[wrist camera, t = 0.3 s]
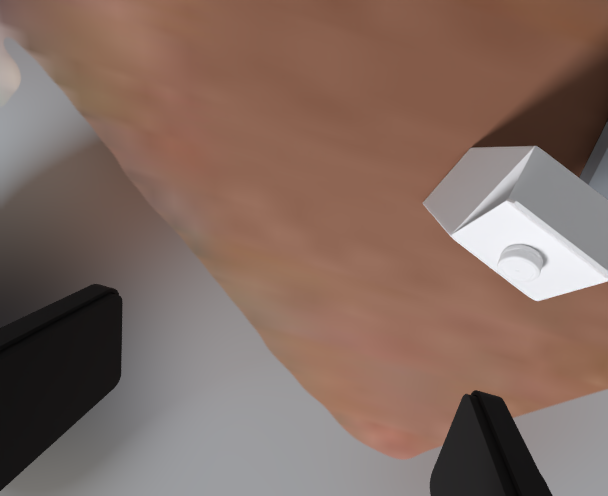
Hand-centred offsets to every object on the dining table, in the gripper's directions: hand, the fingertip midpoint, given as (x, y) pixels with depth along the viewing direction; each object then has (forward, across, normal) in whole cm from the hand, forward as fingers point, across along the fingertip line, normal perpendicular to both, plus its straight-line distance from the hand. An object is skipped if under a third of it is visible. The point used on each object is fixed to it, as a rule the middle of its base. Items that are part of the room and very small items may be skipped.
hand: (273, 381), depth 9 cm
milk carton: (+31, -12, -3) cm, 33 cm away
